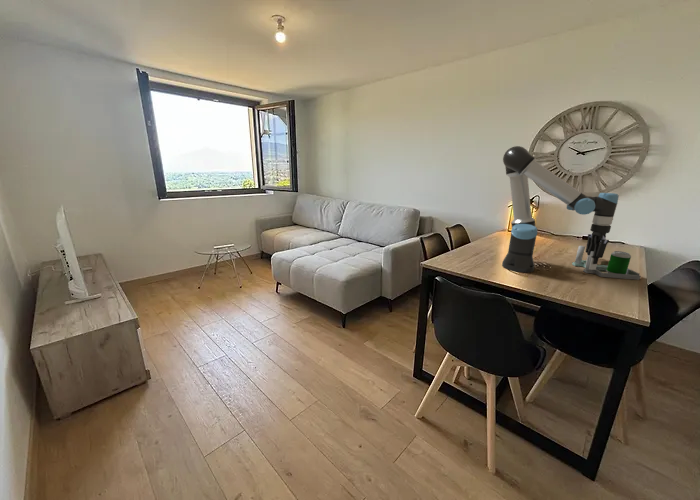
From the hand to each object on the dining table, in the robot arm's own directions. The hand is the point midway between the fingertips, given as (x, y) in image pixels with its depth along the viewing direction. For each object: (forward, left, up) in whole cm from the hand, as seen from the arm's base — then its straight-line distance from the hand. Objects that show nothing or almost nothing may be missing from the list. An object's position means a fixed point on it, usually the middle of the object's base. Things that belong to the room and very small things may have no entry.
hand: (590, 268), depth 151 cm
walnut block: (+12, +12, -3) cm, 17 cm away
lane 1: (+9, +12, -2) cm, 15 cm away
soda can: (+12, 0, -3) cm, 12 cm away
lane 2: (+9, 0, -2) cm, 9 cm away
